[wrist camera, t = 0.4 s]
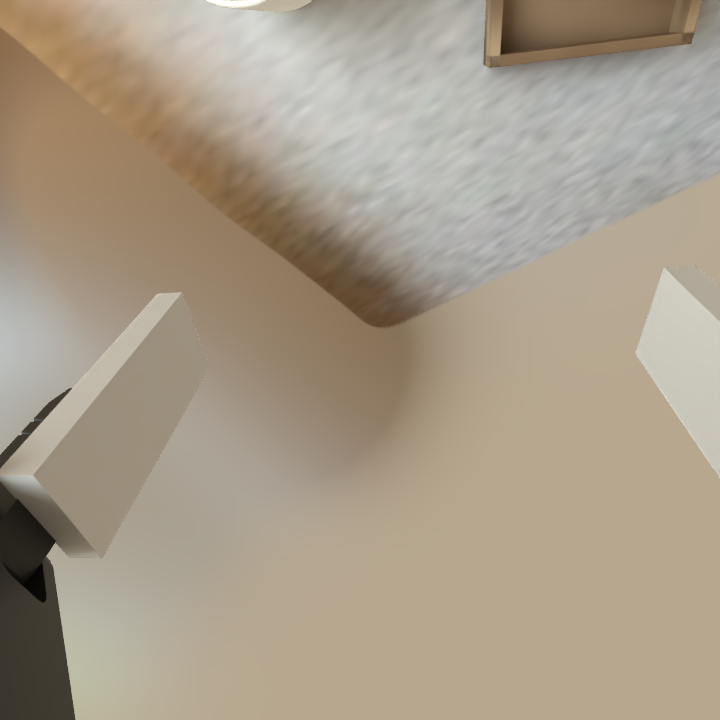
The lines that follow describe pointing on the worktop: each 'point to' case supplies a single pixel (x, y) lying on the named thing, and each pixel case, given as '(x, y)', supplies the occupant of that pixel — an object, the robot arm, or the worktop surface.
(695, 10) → the wooden stand
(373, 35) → the worktop surface
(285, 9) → the mug
